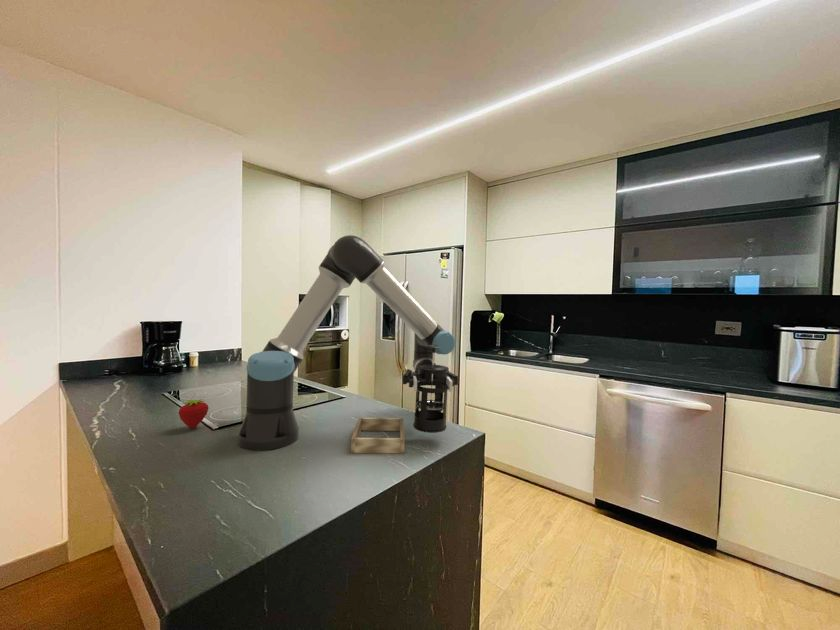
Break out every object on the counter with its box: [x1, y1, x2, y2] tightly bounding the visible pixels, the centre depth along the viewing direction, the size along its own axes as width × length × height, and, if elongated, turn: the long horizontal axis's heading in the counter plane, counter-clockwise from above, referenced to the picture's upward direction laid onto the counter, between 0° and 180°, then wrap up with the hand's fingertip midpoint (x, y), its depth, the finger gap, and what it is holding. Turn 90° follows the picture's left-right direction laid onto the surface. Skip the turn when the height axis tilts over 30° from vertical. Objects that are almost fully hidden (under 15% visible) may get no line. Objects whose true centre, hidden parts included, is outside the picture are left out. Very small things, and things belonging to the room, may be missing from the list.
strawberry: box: [178, 395, 210, 430], centre depth 97 cm, size 6×8×10 cm
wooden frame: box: [350, 417, 405, 454], centre depth 94 cm, size 14×17×4 cm
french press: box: [412, 345, 450, 434], centre depth 95 cm, size 12×9×23 cm
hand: (433, 386), depth 90 cm, fingers closed on french press, 9 cm apart
